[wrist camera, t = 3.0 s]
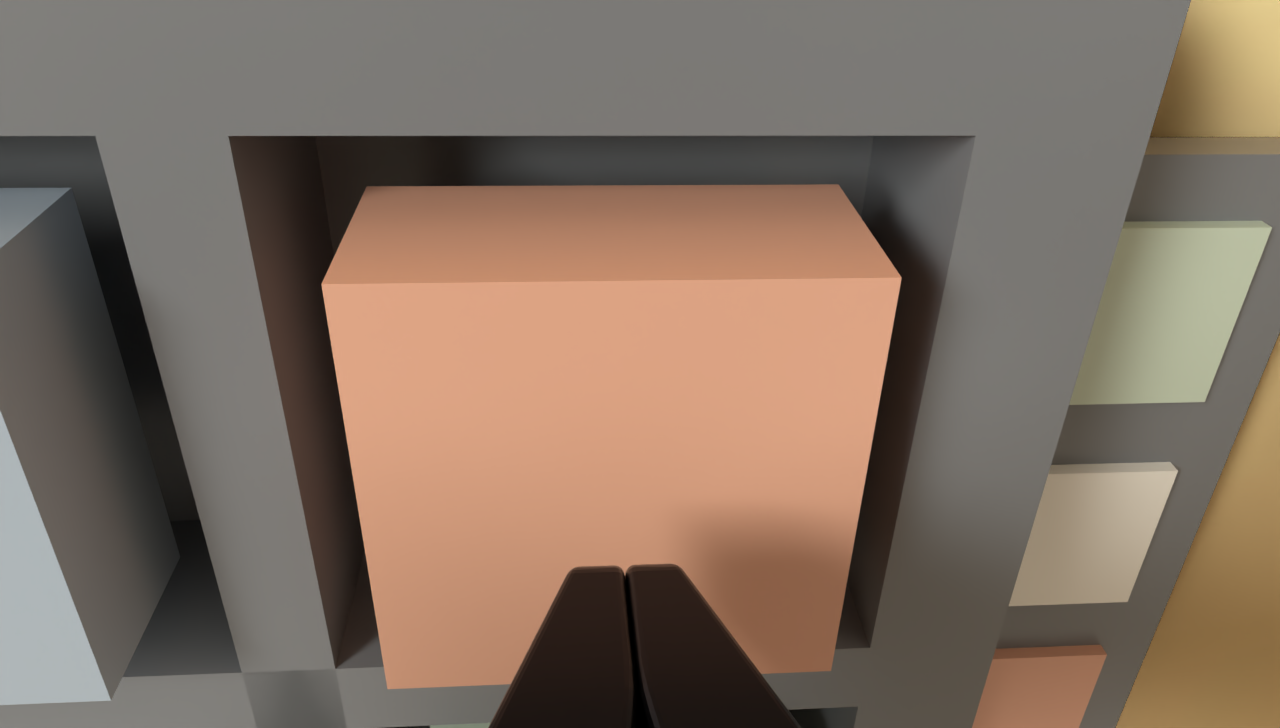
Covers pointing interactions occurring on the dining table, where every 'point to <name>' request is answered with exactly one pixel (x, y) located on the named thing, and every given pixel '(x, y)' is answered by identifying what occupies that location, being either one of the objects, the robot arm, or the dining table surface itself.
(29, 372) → the key slate
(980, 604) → the keypad
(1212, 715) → the dining table surface
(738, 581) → the key terracotta
